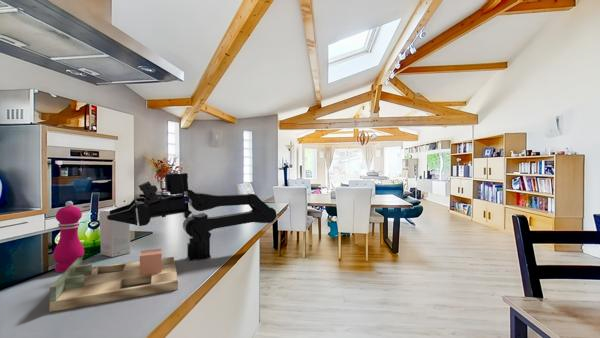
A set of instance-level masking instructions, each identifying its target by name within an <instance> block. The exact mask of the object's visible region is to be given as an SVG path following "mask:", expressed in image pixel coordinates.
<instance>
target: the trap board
mask: <svg viewBox="0 0 600 338" xmlns="http://www.w3.org/2000/svg"><path fill="white" fill-rule="evenodd" d="M178 289H179V280H178V274H177V267H176V262H175V257H174V256H170V257H164V258H163V257H162V271H161V272H160V273H154V274H147V275H140V260H139V261H138V260H137V261H131V262H123V263H115V264H113V263H112V264H107V265H99V266H93V264H92V263H91V264H83V257H81V258H78V259H77V260H76V261H75V262H74V263H73V264H72V265H71V266H70V267H69V268H68V269H67V270H66V271H65V272H62V274H61V275H60V276H59V277H58V278H57V279H56V280H55V281H54V282H53V283H52V284H51V285H50V286H49V313H51V312H57V311H62V310H68V309H73V308H74V309H75V308H80V307H86V306H91V305H97V304H102V303H108V302H112V301H113V302H114V301H121V300H125V299H131V298H136V297H143V296H147V295H148V296H149V295H153V294H159V293H160V294H161V293H165V292H171V291H175V290H178Z"/></svg>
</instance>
